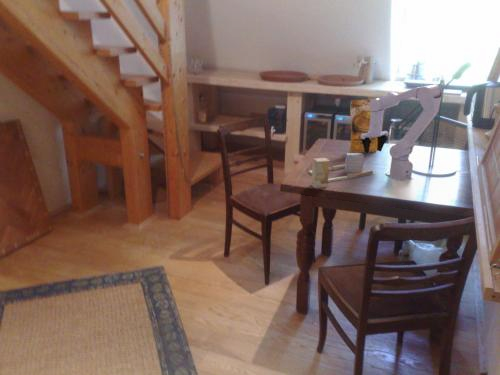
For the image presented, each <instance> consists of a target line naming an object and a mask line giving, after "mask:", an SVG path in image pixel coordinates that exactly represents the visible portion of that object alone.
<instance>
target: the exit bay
mask: <svg viewBox="0 0 500 375" xmlns="http://www.w3.org/2000/svg"><path fill="white" fill-rule="evenodd" d="M331 167H332V166H331ZM331 167H330V166H329V171H332V169H331ZM308 173H309V174H310V175H312V169H311V170H308ZM347 179H348V178H347V176H346V175H344V176H339V177H338V176H337V177H332V178H328V183H330V182H336V181H342V180H347Z"/></svg>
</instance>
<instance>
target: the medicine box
mask: <svg viewBox="0 0 500 375" xmlns="http://www.w3.org/2000/svg"><path fill="white" fill-rule="evenodd" d="M364 161H365V155H364V153H354V152H346V154H345V162H344V164H345V168H344V171H345V173H347V174H352V173H358V172H363V171H364V170H363V168H364Z"/></svg>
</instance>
